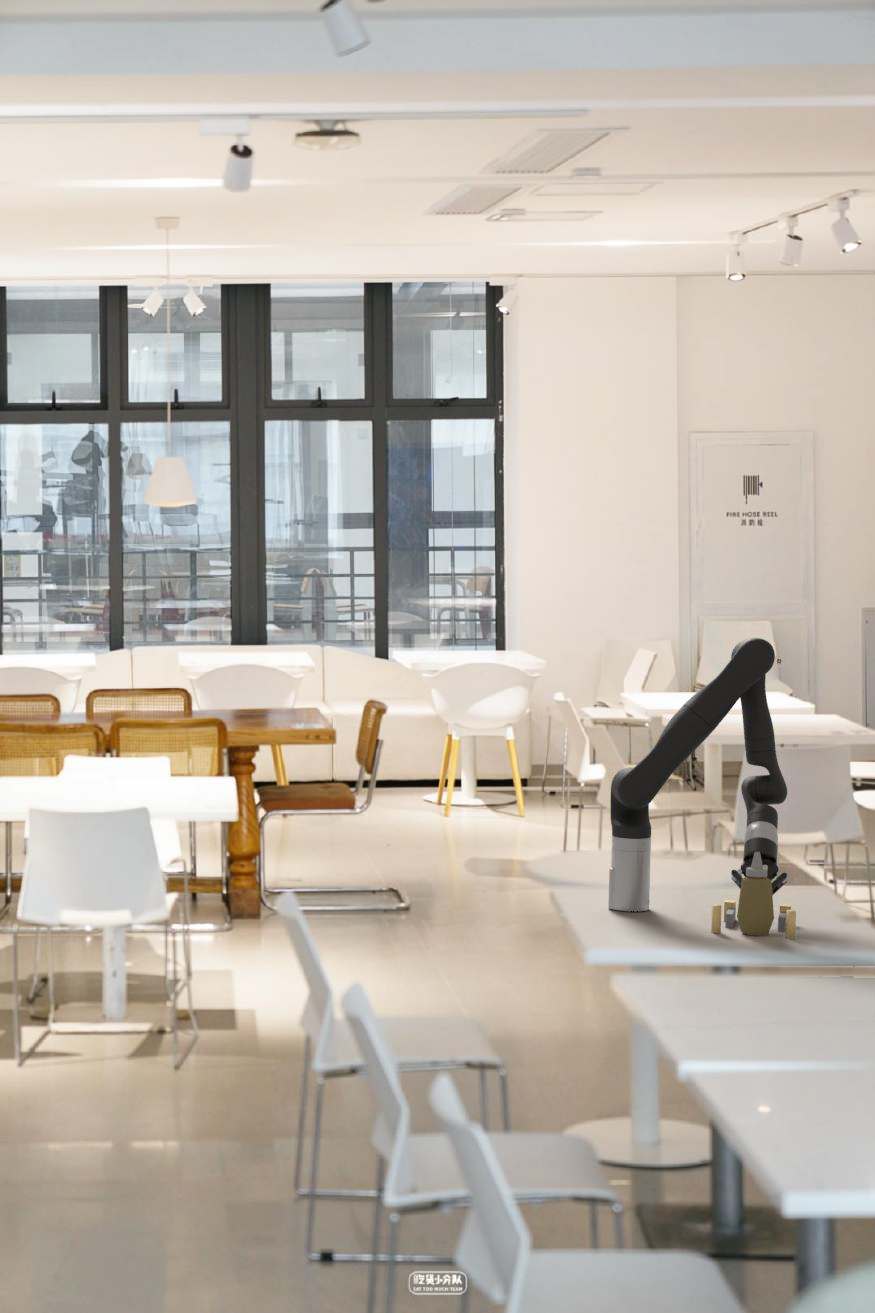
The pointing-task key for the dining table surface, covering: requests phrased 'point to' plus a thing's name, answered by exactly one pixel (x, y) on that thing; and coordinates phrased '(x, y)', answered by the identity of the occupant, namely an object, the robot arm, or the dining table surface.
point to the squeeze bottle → (755, 900)
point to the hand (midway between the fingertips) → (757, 908)
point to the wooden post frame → (784, 920)
